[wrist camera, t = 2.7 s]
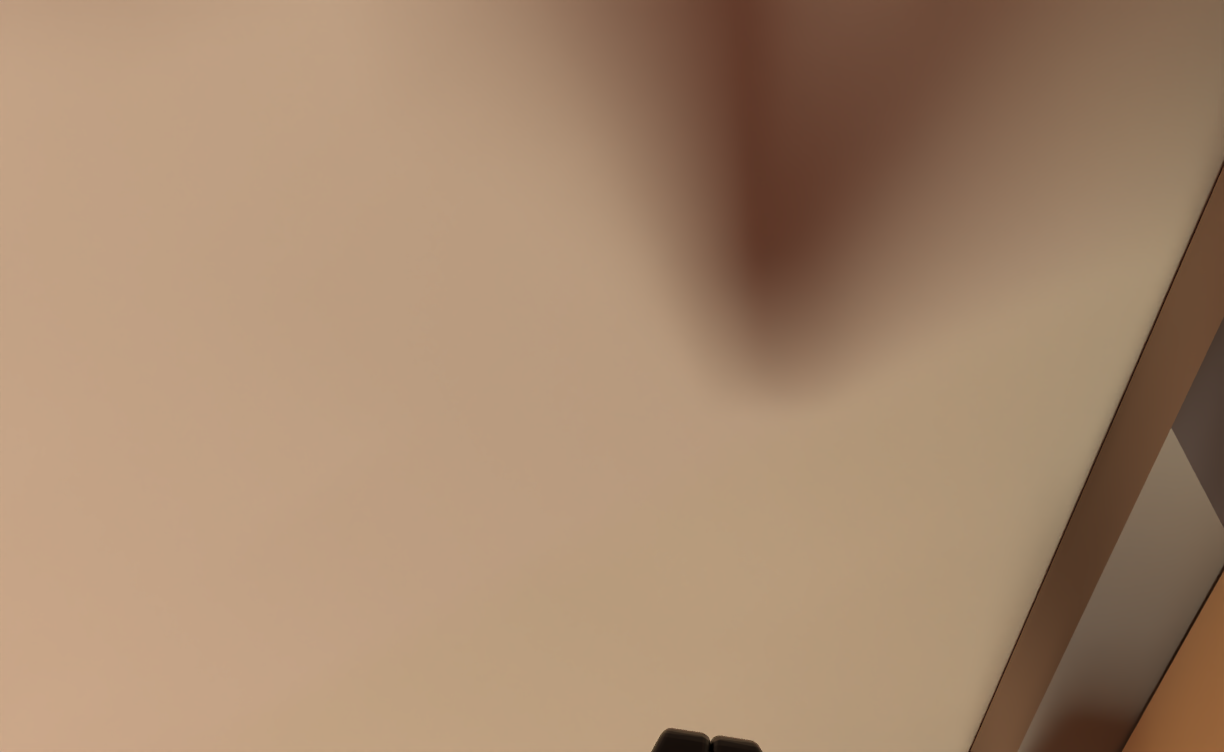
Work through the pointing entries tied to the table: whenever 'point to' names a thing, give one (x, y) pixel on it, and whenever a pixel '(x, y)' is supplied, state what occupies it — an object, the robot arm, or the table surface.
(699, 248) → the table surface
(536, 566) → the table surface
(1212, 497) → the chute
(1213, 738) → the block
